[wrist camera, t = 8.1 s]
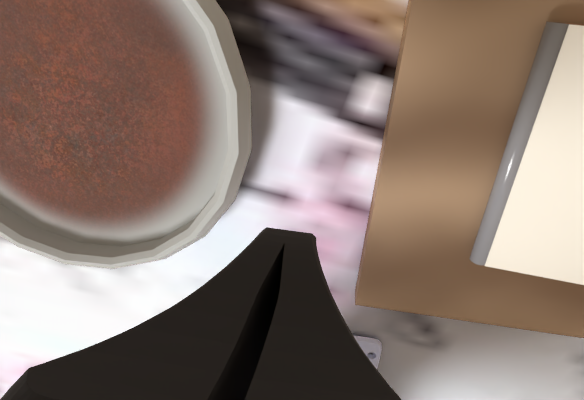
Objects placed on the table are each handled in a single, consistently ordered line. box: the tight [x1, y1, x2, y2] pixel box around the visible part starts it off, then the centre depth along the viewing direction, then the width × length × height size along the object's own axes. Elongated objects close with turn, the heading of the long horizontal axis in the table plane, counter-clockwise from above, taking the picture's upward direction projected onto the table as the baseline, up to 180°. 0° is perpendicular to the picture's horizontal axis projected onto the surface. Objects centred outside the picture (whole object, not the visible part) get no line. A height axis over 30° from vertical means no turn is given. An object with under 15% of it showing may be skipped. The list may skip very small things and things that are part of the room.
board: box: [355, 0, 584, 338], centre depth 18 cm, size 18×16×1 cm
